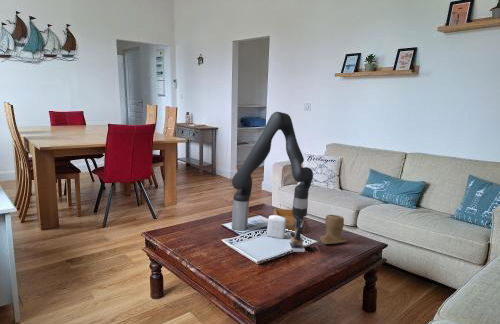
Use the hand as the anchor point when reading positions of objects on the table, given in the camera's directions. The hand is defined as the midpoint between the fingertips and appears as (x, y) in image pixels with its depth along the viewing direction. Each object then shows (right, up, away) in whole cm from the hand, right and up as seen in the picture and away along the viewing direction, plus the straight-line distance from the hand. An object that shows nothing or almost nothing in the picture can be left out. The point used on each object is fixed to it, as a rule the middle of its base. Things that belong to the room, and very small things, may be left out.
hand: (297, 237), depth 179 cm
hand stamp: (0, -3, +1) cm, 3 cm away
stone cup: (+21, -5, +14) cm, 26 cm away
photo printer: (-10, -3, +16) cm, 19 cm away
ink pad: (-1, -6, +1) cm, 6 cm away
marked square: (+7, -6, +2) cm, 10 cm away
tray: (-1, 0, +39) cm, 39 cm away
